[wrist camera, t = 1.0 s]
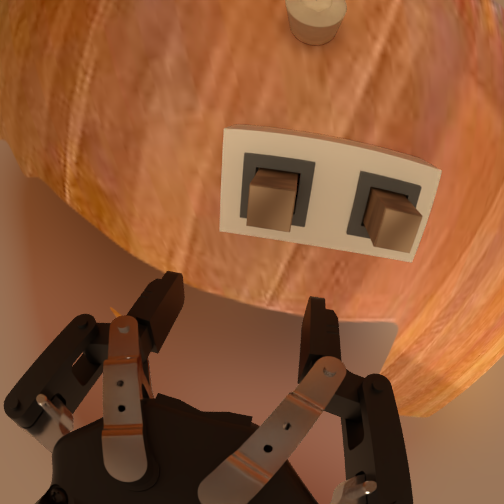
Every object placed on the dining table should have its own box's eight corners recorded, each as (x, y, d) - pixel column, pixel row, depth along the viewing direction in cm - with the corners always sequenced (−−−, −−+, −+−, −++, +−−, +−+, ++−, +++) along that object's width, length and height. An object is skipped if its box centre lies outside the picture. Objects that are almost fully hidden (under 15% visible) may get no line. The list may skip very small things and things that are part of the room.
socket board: (421, 158, 29) (444, 172, 23) (399, 239, 35) (413, 265, 29) (237, 123, 31) (222, 128, 25) (231, 211, 37) (218, 233, 32)
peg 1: (297, 172, 28) (296, 191, 22) (292, 206, 30) (289, 233, 24) (260, 166, 28) (249, 184, 23) (257, 201, 30) (246, 226, 25)
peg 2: (401, 192, 27) (423, 216, 21) (392, 224, 29) (409, 254, 23) (369, 185, 27) (385, 207, 22) (361, 218, 29) (373, 247, 24)
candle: (334, 49, 24) (347, 28, 16) (288, 42, 25) (282, 18, 16) (337, 12, 21) (349, -19, 13) (291, 5, 22) (286, -28, 13)
